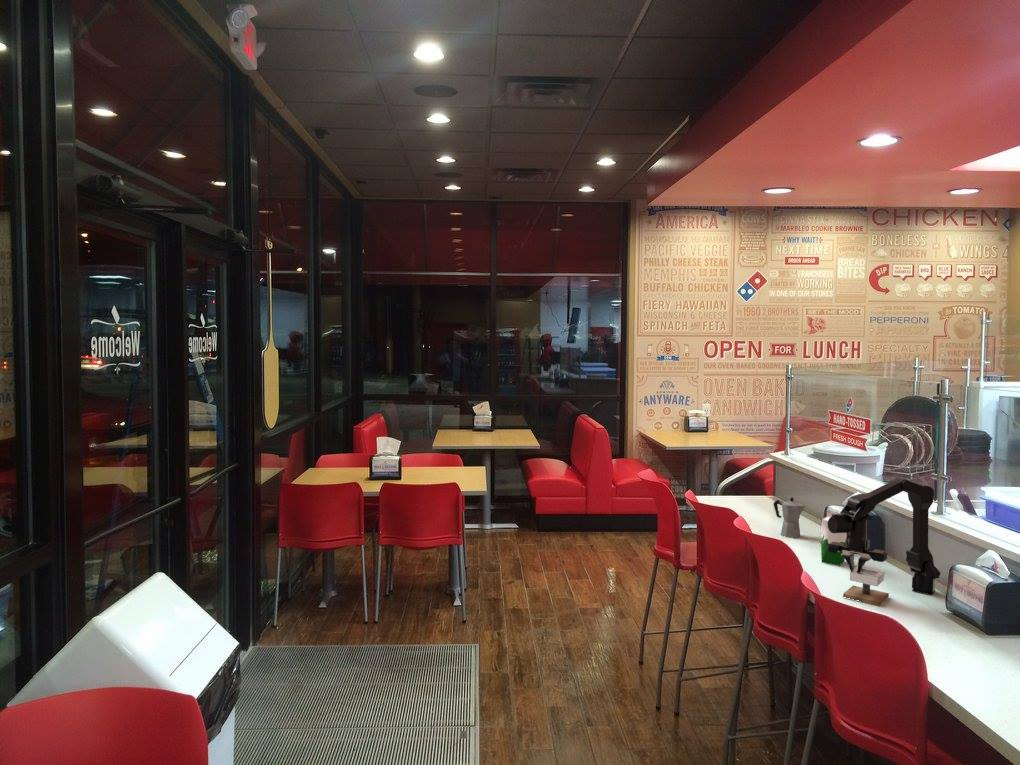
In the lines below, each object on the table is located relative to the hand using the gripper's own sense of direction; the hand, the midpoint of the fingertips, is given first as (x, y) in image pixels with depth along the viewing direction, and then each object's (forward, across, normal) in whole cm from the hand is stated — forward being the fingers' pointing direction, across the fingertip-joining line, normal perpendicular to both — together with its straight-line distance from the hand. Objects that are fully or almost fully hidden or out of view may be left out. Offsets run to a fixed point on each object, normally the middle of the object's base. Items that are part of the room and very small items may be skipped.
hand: (855, 575), depth 260 cm
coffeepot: (+8, +47, -66) cm, 81 cm away
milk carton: (+8, +18, -36) cm, 41 cm away
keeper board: (+7, -4, 0) cm, 8 cm away
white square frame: (+1, -4, 0) cm, 4 cm away
